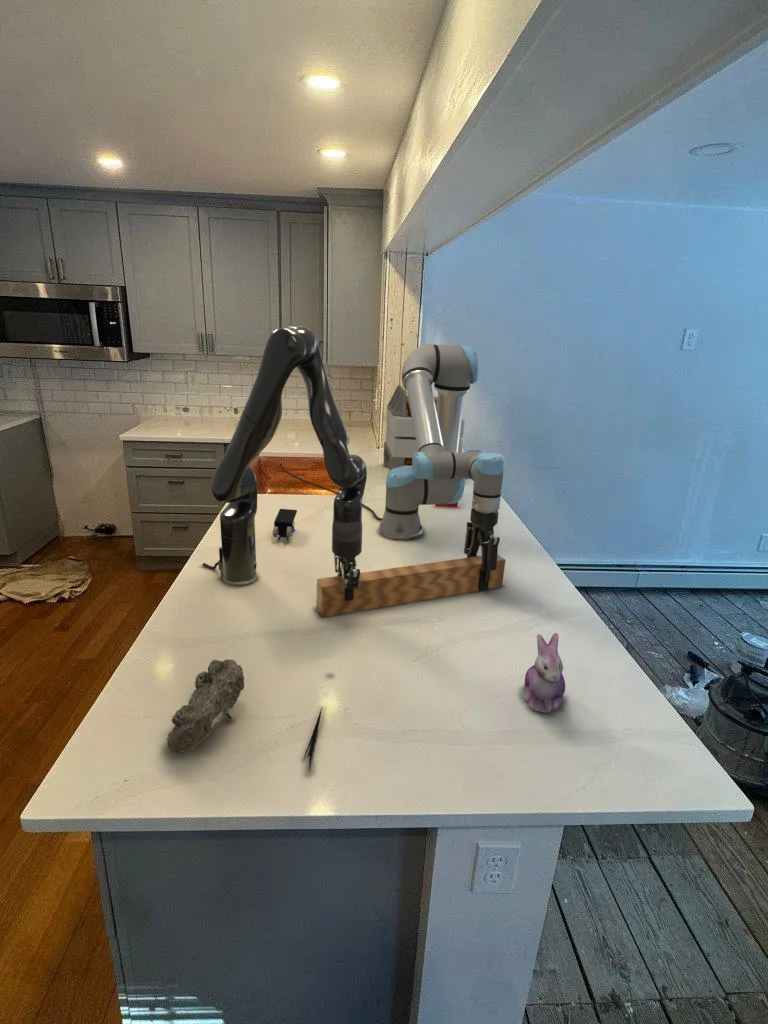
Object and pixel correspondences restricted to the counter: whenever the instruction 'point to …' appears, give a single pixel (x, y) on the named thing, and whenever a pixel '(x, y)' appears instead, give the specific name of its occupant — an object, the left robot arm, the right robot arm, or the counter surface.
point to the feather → (313, 740)
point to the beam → (405, 585)
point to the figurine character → (284, 523)
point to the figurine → (545, 677)
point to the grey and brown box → (403, 431)
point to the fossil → (206, 705)
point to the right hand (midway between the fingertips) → (476, 584)
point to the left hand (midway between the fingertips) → (345, 595)
